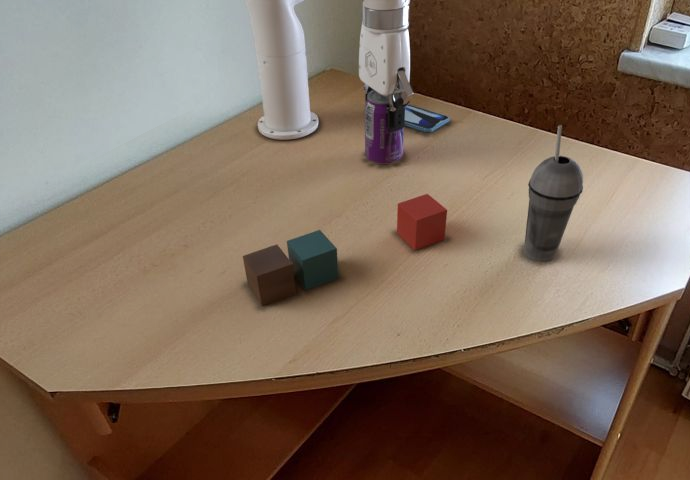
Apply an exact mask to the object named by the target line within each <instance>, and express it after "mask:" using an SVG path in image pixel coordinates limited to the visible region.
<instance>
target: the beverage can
mask: <svg viewBox="0 0 690 480" xmlns="http://www.w3.org/2000/svg"><path fill="white" fill-rule="evenodd" d="M394 90H398V88H394ZM394 90H393V91H394ZM393 96H394V100H395V101H396V100H397V99H398V98H399V93H398V94H395V95H393ZM367 98H368V99H367V101H366V103H365V104H364V153H365V154H364V157H365V158H366V159H367V160H368V161H370V162H373V163H375V164H378V165H389V164H392V163H394V162H397V161H399V160H400V159H401V158H403V155H404V130H405V127H404V128H403V129H401V130H398V131H394V132H391V133H390V132H388V130H387V125H388V110H389V109H390V106H389V101H388V97H387V96H383V95H381V94H380V93H378V92H377V91H375V90H372V91H370V92H369V93H368V95H367Z"/></svg>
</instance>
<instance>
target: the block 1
mask: <svg viewBox="0 0 690 480" xmlns="http://www.w3.org/2000/svg"><path fill="white" fill-rule="evenodd" d="M242 260H243V266H244V271H245V276H246V281H247V286H248V287H249V289H250V291H251V293H253V295H254V297H255V298H256V299H257V301H258V303H259V304H260V305H261V306H262V307H264V306H266V305H269V304H272V303H275V302H276V301H279V300H282V299H285V298H288V297H291V296H293V295H296V294H297V289H296V283H295V282H296V281H295V276H294V272H293V264H292V263H291V261H290V260H289V256H287V255H286V254H285V252H284V251H283V249H282V248H281V247H280V246H279V244H274V245H271V246H268V247H265V248H261V249H259V250H256V251H253V252H250V253H247V254H244V255H242Z"/></svg>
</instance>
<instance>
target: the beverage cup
mask: <svg viewBox="0 0 690 480" xmlns="http://www.w3.org/2000/svg"><path fill="white" fill-rule="evenodd" d="M562 131H563V126H562V125H561V124H558V126H557V132H556V142H555V152H554V156H550V157H548V158H546V159H544V160H542V161H541V162H540V163H539V164H538V165H537V166H536V167H535V169H534V170H533V172H532V174H531V177H530V178H529V181H528V184H527V185H528V198H529V199H528V207H527V208H528V209H527V216H526V217H527V218H526V227H525V235H524V251H523V252H524V255H525V256H526V258H528V259H529V260H531V261H533V262H538V263H546V262H550V261H552V260H553V259H554V258H555V256H556V254H557V251H558V250H559V247H560V245H561V242H562V239H563V237H564V234H565V231H566V228H567V226H568V224H569V220H570V218H571V216H572V212H573V210H574V208H575V205H576V204H577V203H578V200H579V199H580V196H581V194H582V193H583V190H584V174H583V171H582V169H581V167H580V165H579V164H578V163H577V162H576V161H575V160H574V159H572V158H571V157H568V156H565V155H560V151H561V141H562Z"/></svg>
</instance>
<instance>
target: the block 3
mask: <svg viewBox="0 0 690 480" xmlns="http://www.w3.org/2000/svg"><path fill="white" fill-rule="evenodd" d="M396 214H397V215H396V234H397V235H398V236H399V237H400V238H402V239H403V240H404V241H405V242H406V243H407V244H408V245H409V246H410V247H411V248H412V249H413V250H414V251H418V250H420V249H423V248H425V247H429V246H431V245H434V244H436V243H438V242H442V241H444V240H445V239H446V238H445V236H446V228H447V227H446V226H447V218H448V209H447V208H446V207H444V206H443V205H442V204H441V203H440V202H439V201H437V200H436V199H435V198H433V196H431V195H430V194H429V193H424V194H422V195H418V196H416V197H413V198H410V199H407V200H404V201H402V202H399V203H397V213H396Z"/></svg>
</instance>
